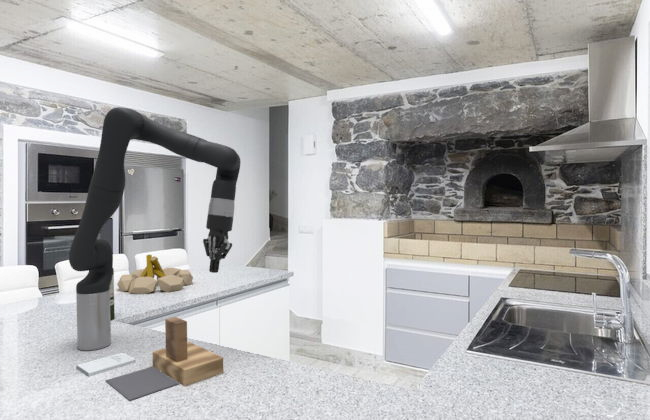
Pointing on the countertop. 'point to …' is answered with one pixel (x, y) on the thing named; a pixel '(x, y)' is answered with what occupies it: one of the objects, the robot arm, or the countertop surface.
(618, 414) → the countertop surface
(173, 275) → the campfire
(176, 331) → the brown wood brick
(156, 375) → the mat
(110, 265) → the robot arm
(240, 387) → the countertop surface
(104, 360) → the external hard drive
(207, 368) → the wooden block
